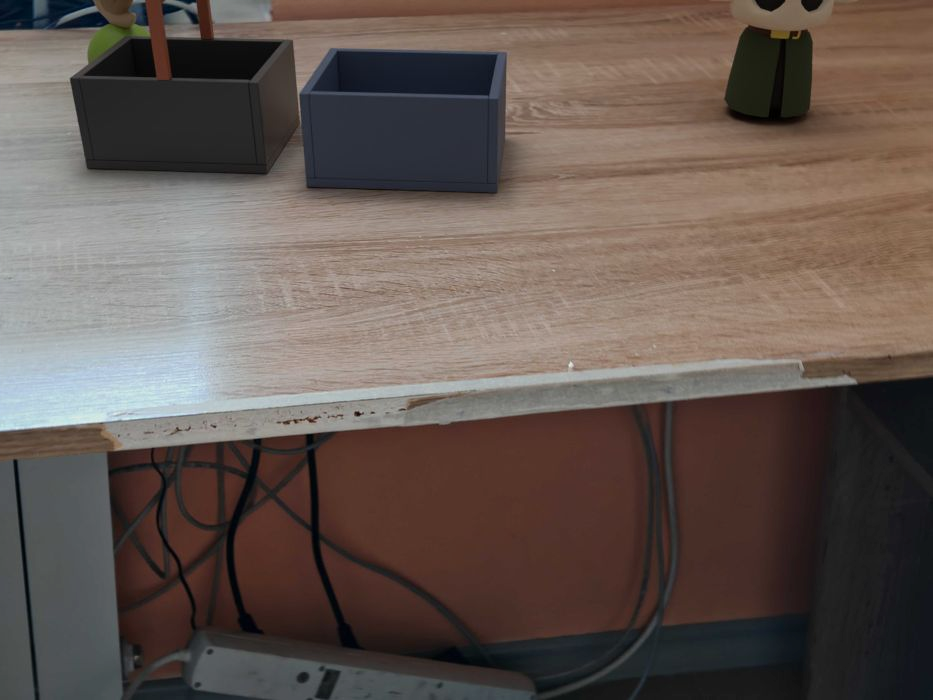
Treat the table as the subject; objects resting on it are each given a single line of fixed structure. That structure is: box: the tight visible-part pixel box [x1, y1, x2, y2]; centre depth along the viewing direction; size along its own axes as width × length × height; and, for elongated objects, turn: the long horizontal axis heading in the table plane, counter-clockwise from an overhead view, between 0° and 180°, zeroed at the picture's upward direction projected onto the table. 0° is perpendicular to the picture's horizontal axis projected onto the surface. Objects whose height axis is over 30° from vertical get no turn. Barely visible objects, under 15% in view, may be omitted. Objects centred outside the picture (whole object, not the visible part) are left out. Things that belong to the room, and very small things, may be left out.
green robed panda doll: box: [709, 0, 859, 119], centre depth 77 cm, size 11×7×13 cm, turn 87°
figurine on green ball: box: [86, 0, 150, 65], centre depth 82 cm, size 5×6×12 cm
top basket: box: [69, 0, 301, 175], centre depth 72 cm, size 12×10×12 cm
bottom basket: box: [298, 47, 508, 194], centre depth 70 cm, size 12×10×6 cm
